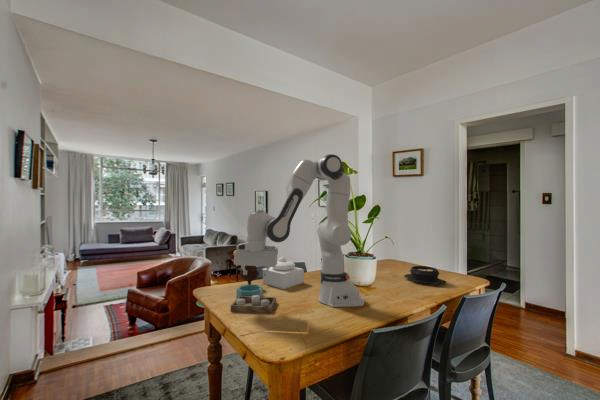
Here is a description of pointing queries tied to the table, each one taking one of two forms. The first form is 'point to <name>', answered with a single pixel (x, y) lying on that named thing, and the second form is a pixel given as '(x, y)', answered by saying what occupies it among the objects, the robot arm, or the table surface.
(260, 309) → the tray
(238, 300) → the pebble
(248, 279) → the ice cream bowl
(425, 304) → the table surface
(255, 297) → the pebble
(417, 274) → the black hat
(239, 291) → the bowl
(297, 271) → the butter dish
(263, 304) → the pebble
